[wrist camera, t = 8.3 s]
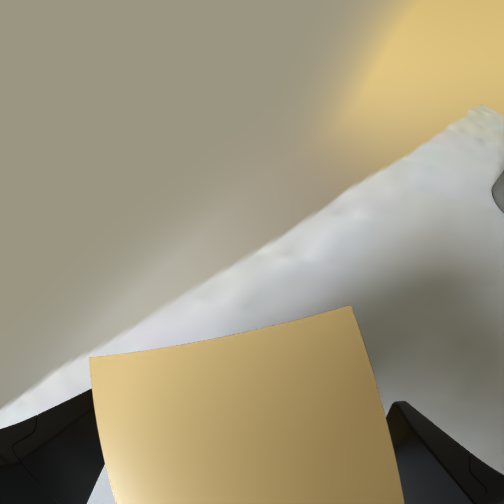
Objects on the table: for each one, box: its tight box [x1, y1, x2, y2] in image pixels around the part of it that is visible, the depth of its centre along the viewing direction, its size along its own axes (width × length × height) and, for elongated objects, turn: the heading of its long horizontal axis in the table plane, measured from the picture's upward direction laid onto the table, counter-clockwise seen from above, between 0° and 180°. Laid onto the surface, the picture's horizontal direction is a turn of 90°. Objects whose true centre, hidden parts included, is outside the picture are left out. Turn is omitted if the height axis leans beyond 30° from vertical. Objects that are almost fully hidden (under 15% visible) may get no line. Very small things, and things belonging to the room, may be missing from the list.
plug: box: [89, 305, 404, 504], centre depth 9 cm, size 4×4×14 cm
